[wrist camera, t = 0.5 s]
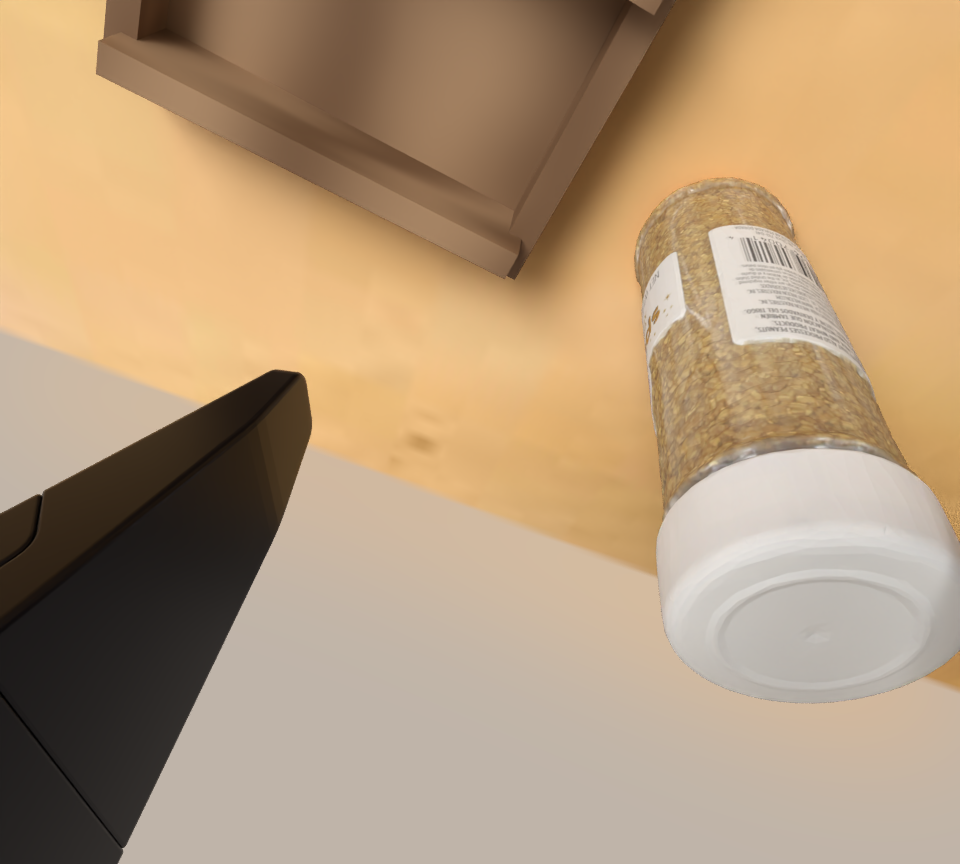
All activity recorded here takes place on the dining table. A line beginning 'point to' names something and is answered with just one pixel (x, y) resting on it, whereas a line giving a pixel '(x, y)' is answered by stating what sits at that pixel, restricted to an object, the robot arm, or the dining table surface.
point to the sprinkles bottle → (780, 469)
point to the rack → (399, 98)
